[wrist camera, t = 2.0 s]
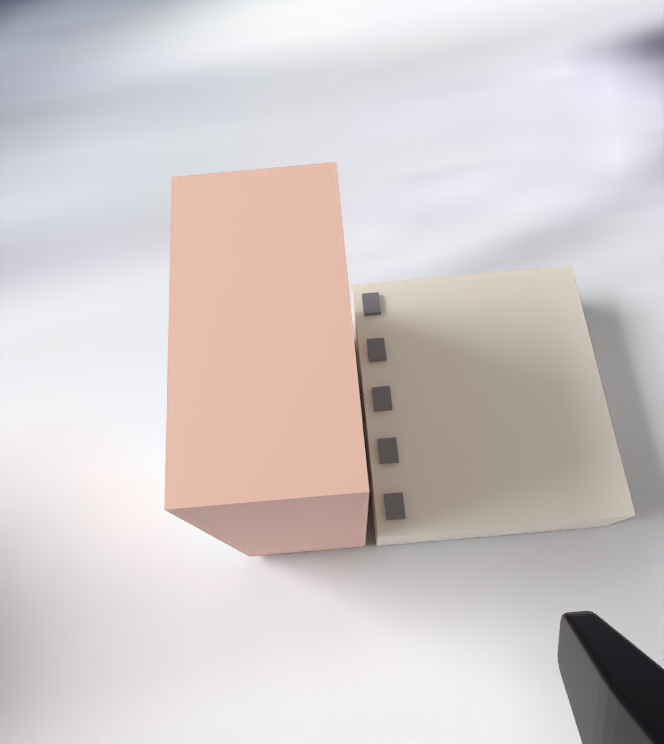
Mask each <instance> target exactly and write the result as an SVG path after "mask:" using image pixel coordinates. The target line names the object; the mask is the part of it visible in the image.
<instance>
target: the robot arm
mask: <svg viewBox="0 0 664 744" xmlns="http://www.w3.org/2000/svg"><path fill="white" fill-rule="evenodd" d="M558 664H559V669H560V673H561V676H562V679H563V683H564V686H565V689H566V692H567V695H568V699H569V702H570V705H571V708H572V711H573V715H574V718H575V721H576V724H577V727H578V731H579V734H580V737H581V740H582V743H583V744H664V669H663V668H662V667H661V666H660V665H658V664H657V663H656V662H655V661H653V660H652V659H651V658H650V657H648V656H647V655H646V654H645V653H643V652H642V651H641V650H640V649H638V648H637V647H636V646H635V645H634V644H632V643H631V642H630V641H629V640H627V639H626V638H625V637H624V636H622V635H621V634H620V633H619V632H617V631H616V630H615V629H614V628H613V627H611V626H610V625H609V624H608V623H606V622H605V621H604V620H603V619H601V618H600V617H599V616H598V615H596V614H595V613H593V612H591V611H580V612H569V613H565V614H563V615H562V617H561V621H560V633H559V645H558Z"/></svg>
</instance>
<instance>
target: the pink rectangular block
mask: <svg viewBox="0 0 664 744" xmlns="http://www.w3.org/2000/svg"><path fill="white" fill-rule="evenodd" d="M368 503H369V483H368V473H367V463H366V453H365V443H364V433H363V423H362V413H361V403H360V394H359V384H358V374H357V364H356V354H355V344H354V334H353V324H352V314H351V304H350V294H349V284H348V274H347V265H346V255H345V245H344V235H343V225H342V215H341V205H340V195H339V185H338V175H337V165H336V162H332V163H321V164H310V165H299V166H288V167H277V168H266V169H255V170H244V171H233V172H222V173H211V174H200V175H189V176H178V177H172V194H171V240H170V285H169V331H168V377H167V423H166V468H165V510H166V511H168V512H170V513H172V514H173V515H175V516H177V517H179V518H181V519H183V520H184V521H186V522H188V523H190V524H192V525H193V526H195V527H197V528H199V529H201V530H202V531H204V532H206V533H208V534H210V535H212V536H213V537H215V538H217V539H219V540H221V541H222V542H224V543H226V544H228V545H230V546H231V547H233V548H235V549H237V550H239V551H241V552H242V553H244V554H246V555H248V556H260V555H272V554H284V553H295V552H307V551H319V550H330V549H342V548H354V547H365V541H366V528H367V516H368Z"/></svg>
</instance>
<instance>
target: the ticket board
mask: <svg viewBox="0 0 664 744" xmlns="http://www.w3.org/2000/svg"><path fill="white" fill-rule="evenodd" d="M352 291H353V321H354V330H355V340H356V350H357V360H358V370H359V380H360V389H361V399H362V409H363V419H364V429H365V439H366V449H367V458H368V468H369V478H370V488H371V498H372V508H373V517H374V527H375V537H376V546H384V545H396V544H408V543H419V542H431V541H443V540H454V539H466V538H478V537H490V536H501V535H513V534H525V533H536V532H548V531H560V530H571V529H583V528H595V527H606V526H609V525H612V524H614V523H617V522H620V521H622V520H625V519H628V518H631V517H633V516H636V515H635V511H634V507H633V503H632V499H631V495H630V491H629V487H628V483H627V480H626V476H625V472H624V468H623V464H622V460H621V456H620V452H619V448H618V444H617V441H616V437H615V433H614V429H613V425H612V421H611V417H610V413H609V409H608V406H607V402H606V398H605V394H604V390H603V386H602V382H601V378H600V374H599V371H598V367H597V363H596V359H595V355H594V351H593V347H592V343H591V339H590V336H589V332H588V328H587V324H586V320H585V316H584V312H583V308H582V304H581V300H580V297H579V293H578V289H577V285H576V281H575V277H574V273H573V269H572V265H570V266H558V267H547V268H536V269H525V270H514V271H503V272H491V273H480V274H469V275H458V276H447V277H435V278H424V279H413V280H402V281H391V282H380V283H368V284H357V285H352Z"/></svg>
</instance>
